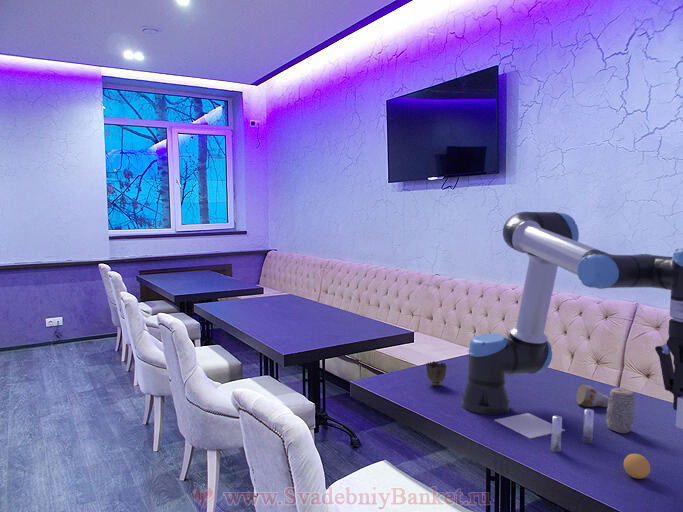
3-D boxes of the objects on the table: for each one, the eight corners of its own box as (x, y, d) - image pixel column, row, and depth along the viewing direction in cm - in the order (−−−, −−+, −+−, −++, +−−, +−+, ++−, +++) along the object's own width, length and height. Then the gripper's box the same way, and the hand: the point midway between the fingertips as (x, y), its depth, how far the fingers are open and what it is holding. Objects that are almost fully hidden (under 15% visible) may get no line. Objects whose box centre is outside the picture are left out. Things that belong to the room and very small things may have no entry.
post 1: (548, 449, 133) (550, 416, 132) (555, 447, 134) (556, 414, 133) (556, 452, 131) (557, 419, 130) (562, 451, 132) (564, 418, 131)
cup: (449, 384, 185) (449, 363, 184) (441, 390, 178) (442, 368, 178) (430, 380, 189) (430, 360, 188) (422, 385, 182) (423, 364, 182)
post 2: (580, 441, 138) (582, 409, 138) (586, 439, 139) (588, 408, 139) (588, 444, 136) (590, 412, 135) (594, 443, 137) (596, 411, 136)
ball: (617, 474, 120) (619, 452, 120) (632, 469, 122) (633, 447, 122) (639, 485, 115) (641, 462, 115) (654, 480, 117) (656, 457, 117)
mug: (615, 411, 162) (604, 386, 160) (585, 420, 165) (574, 396, 163) (608, 398, 169) (597, 374, 167) (579, 407, 172) (568, 384, 170)
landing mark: (494, 420, 152) (494, 419, 151) (528, 413, 158) (528, 413, 158) (529, 438, 139) (530, 438, 139) (565, 430, 145) (565, 429, 145)
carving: (623, 436, 142) (626, 395, 141) (600, 426, 149) (602, 387, 148) (638, 433, 144) (641, 392, 144) (615, 423, 151) (617, 384, 150)
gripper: (649, 316, 112) (642, 418, 113) (713, 327, 100) (705, 441, 102) (669, 314, 115) (663, 413, 117) (734, 324, 103) (726, 435, 105)
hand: (682, 426), depth 109 cm, fingers closed
